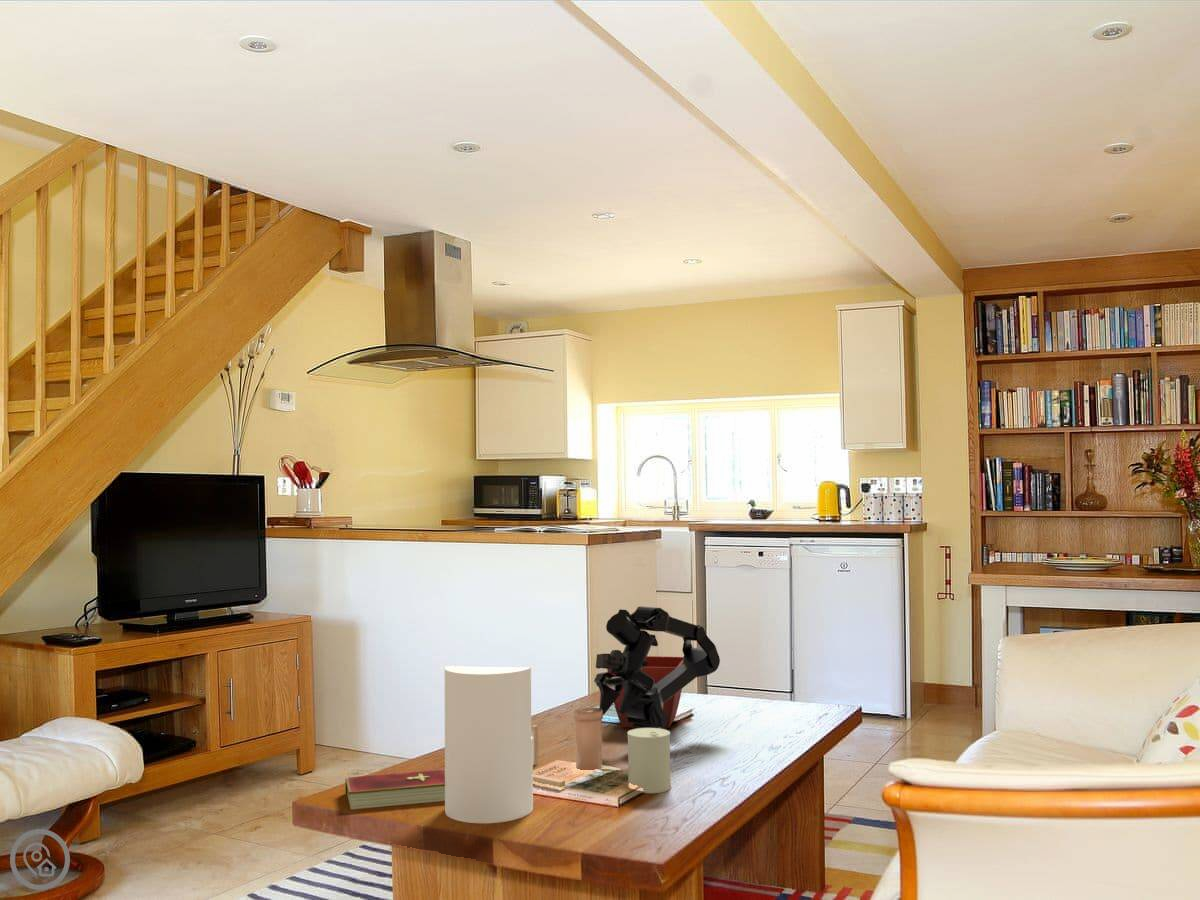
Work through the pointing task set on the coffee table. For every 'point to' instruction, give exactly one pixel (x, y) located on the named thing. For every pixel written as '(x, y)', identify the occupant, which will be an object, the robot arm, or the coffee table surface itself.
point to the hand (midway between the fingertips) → (610, 714)
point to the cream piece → (535, 762)
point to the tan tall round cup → (588, 738)
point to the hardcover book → (395, 789)
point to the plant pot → (657, 670)
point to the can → (649, 759)
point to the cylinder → (488, 744)
